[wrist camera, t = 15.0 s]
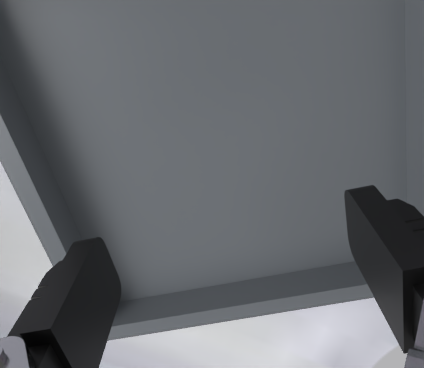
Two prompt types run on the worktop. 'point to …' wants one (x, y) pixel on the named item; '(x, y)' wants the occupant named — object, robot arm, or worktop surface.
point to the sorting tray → (211, 143)
